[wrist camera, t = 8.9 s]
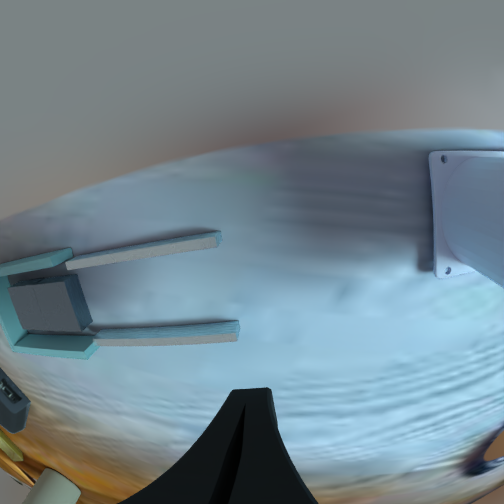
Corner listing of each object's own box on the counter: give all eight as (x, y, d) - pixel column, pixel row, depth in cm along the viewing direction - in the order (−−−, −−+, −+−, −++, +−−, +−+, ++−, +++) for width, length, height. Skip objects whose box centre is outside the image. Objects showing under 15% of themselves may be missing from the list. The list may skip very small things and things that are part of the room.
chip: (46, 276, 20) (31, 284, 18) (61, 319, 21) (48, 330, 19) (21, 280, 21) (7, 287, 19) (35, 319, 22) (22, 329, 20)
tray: (70, 247, 19) (50, 256, 16) (102, 343, 21) (87, 359, 18) (0, 264, 20) (-18, 272, 18) (27, 339, 22) (12, 351, 20)
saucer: (-11, 425, 33) (-15, 431, 31) (-3, 421, 31) (-9, 427, 29) (17, 455, 34) (13, 461, 32) (28, 454, 33) (23, 461, 31)
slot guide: (220, 230, 18) (214, 236, 16) (240, 328, 19) (237, 341, 18) (77, 255, 19) (65, 262, 17) (104, 335, 21) (94, 345, 19)
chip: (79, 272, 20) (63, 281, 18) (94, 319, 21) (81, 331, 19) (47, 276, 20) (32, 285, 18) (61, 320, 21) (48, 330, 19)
